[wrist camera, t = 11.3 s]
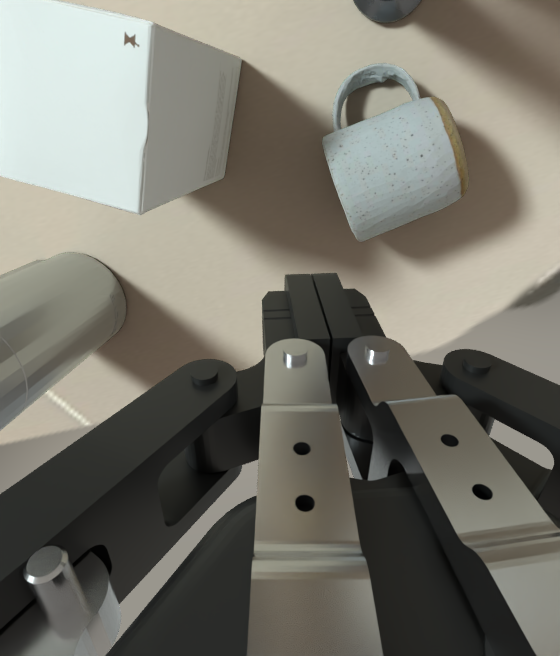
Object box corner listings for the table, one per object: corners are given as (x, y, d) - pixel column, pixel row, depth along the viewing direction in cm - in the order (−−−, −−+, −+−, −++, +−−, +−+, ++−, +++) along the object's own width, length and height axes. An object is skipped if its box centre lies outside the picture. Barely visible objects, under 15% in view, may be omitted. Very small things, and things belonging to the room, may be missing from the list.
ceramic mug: (462, 190, 34) (484, 205, 28) (359, 231, 37) (355, 254, 30) (417, 42, 31) (429, 17, 24) (308, 98, 34) (290, 91, 27)
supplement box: (129, 29, 34) (-28, -28, 21) (244, 57, 33) (158, 16, 20) (122, 156, 38) (-14, 176, 25) (224, 182, 37) (142, 218, 24)
